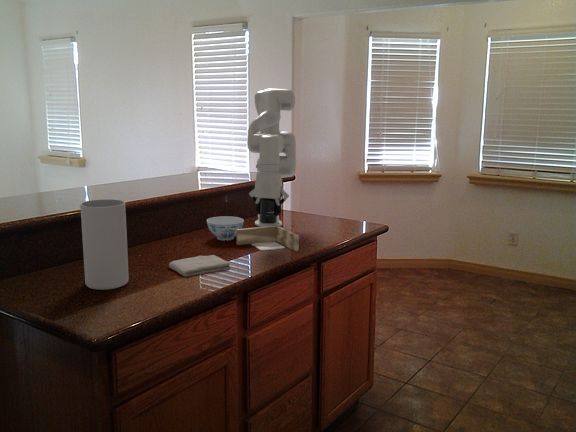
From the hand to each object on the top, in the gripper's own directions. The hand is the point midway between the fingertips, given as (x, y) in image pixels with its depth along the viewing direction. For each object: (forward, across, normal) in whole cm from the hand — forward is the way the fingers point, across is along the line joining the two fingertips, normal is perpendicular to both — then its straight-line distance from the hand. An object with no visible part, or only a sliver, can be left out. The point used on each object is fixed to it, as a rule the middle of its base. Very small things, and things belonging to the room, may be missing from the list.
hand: (268, 214), depth 203 cm
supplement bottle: (+3, 0, 0) cm, 3 cm away
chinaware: (+13, -21, +5) cm, 25 cm away
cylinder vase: (+13, -31, -58) cm, 67 cm away
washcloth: (+14, -12, -34) cm, 38 cm away
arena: (+13, 0, -1) cm, 13 cm away
